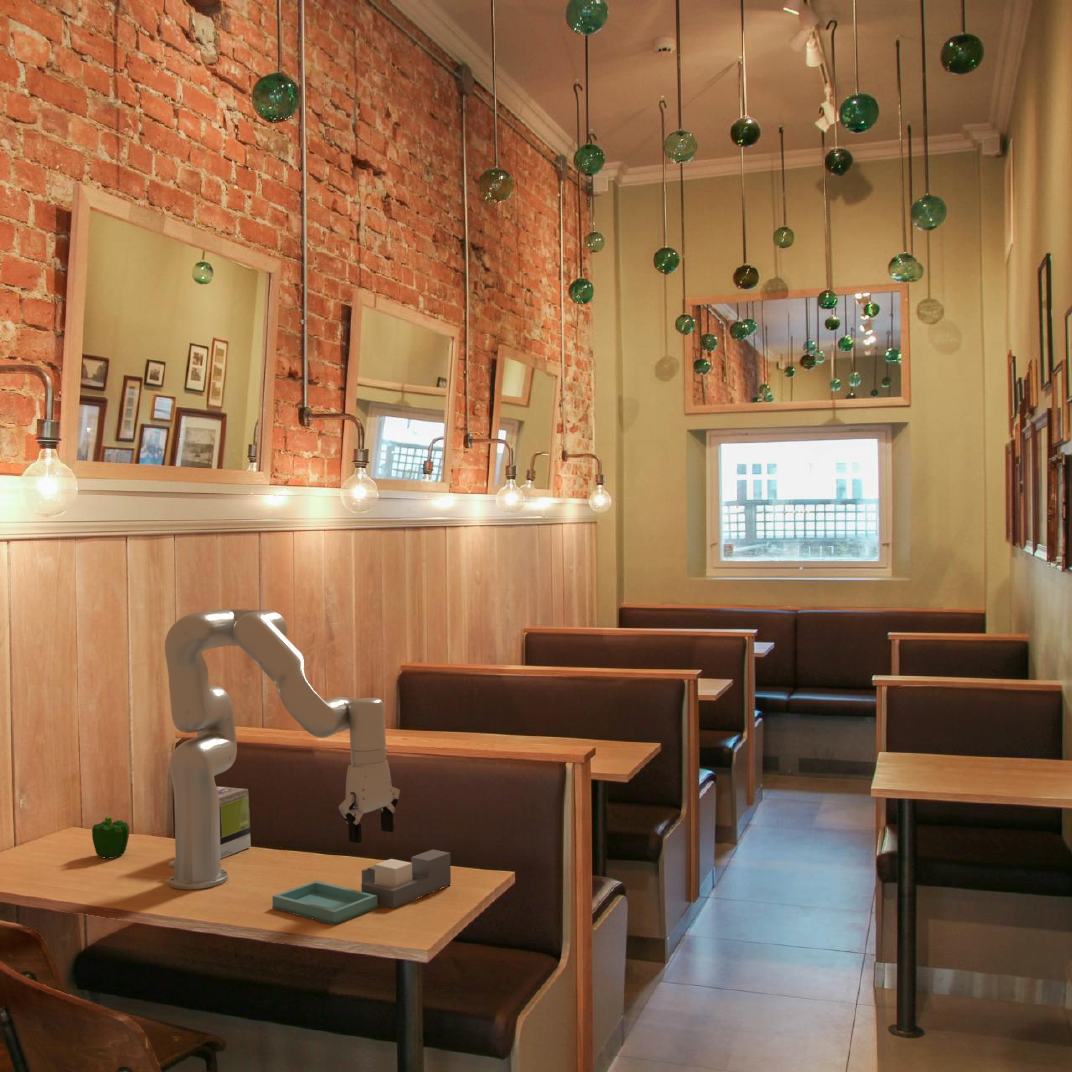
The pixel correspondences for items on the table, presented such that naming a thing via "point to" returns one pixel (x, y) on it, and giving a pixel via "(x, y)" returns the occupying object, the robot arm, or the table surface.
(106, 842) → the bell pepper
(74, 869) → the table surface
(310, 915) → the tray
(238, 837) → the tea box
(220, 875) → the robot arm
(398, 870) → the t-handle cube
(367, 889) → the bay
